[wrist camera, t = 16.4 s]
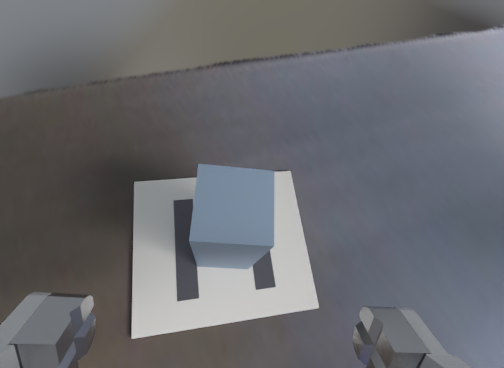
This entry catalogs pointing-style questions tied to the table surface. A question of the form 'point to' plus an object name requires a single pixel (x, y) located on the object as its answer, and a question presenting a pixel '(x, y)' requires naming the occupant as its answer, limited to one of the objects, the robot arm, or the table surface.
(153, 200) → the letter card
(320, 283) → the table surface
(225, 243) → the blue block
